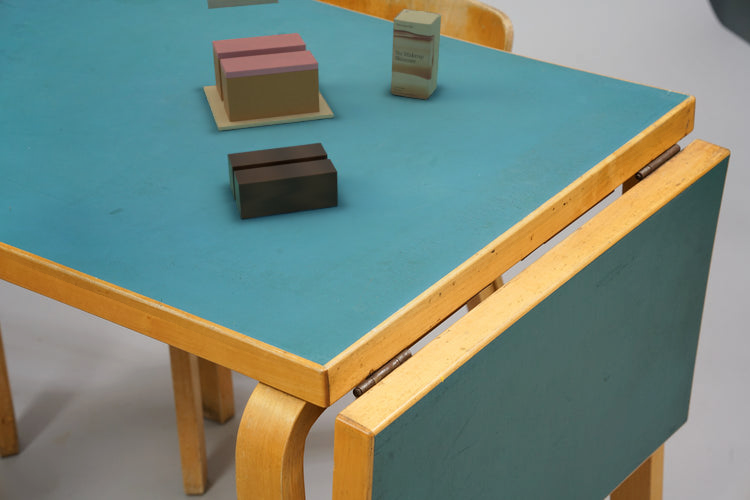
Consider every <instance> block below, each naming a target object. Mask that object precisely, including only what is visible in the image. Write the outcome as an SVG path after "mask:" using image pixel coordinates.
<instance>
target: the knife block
mask: <svg viewBox="0 0 750 500" xmlns="http://www.w3.org/2000/svg"><path fill="white" fill-rule="evenodd" d="M325 149H326V148H325V147H324V146H323V144H322V143H321V142H315V143H308V144H299V145H291V146H290V145H289V146H283V147H275V148H267V149H259V150H249V151H242V152H234V153H227V165H228V166H227V167H228V177H229V188H230V191H231V193H232V197H233V200H234V201H235V202H236V203H235V205H236V208H237V211H238V214H239V216H240V217H239V218H240V220H246V219H253V218H259V217H260V218H261V217H268V216H275V215H282V214H288V213H295V212H303V211H311V210H318V209H325V208H333V207H338V206H339V197H338V196H339V195H338V194H339V193H338V187H339V186H338V170H337V169H336V167H335V165H334V163H333V161H332V160H331V158H329V155H328V152H327V151H326V150H325Z"/></svg>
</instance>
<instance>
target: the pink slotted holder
mask: <svg viewBox="0 0 750 500" xmlns="http://www.w3.org/2000/svg"><path fill="white" fill-rule="evenodd" d="M211 45H212V46H211V47H212V56H213V67H214V78H215V79H214V81H215V85H204V86H203V92H204V94H205V98H206V99H207V102H208V105H209V108H210V110H211V114H212V116H213V118H214V121H215V124H216V126H217V129H218V131H219V132H221V131H228V130H237V129H239V130H240V129H244V128H245V129H247V128H256V127H263V126H264V127H265V126H273V125H281V124H290V123H299V122H306V121H315V120H322V119H323V120H324V119H332V118H334V117H335V115H334V113H333V111H332V109H331V107H330V106H329V104H328V103H327V101H326V99H325V98H324V96H323V95H322V93H321V92H320V80H319V79H320V77H319V62H318V61H317V59H316V57H315V56H314V55H313V53H312V52H311V50H307V44H306V42H305V41H304V40H303V38H302V36H301V35H300V34H299V32H292V33H283V34H282V33H281V34H272V35H259V36H251V37H249V36H248V37H239V38H230V39H229V38H228V39H219V40H212V41H211Z"/></svg>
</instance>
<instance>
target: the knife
mask: <svg viewBox="0 0 750 500" xmlns="http://www.w3.org/2000/svg"><path fill="white" fill-rule="evenodd" d="M206 2H207V3H206V4H207V9H208V10H211V9H212V10H213V9H222V8H223V9H224V8H235V7H246V6H258V5H271V4H279V0H206Z"/></svg>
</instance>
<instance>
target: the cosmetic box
mask: <svg viewBox="0 0 750 500" xmlns="http://www.w3.org/2000/svg"><path fill="white" fill-rule="evenodd" d="M441 23H442V14H441V13H437V12H431V11H426V10H416V9H410V8H409V9H408V8H403V9H402V10H401V11H400V12H399V13H397V14H396V16H395V17H394V18H393V28H392V30H393V31H392V32H393V33H392V52H391V53H392V54H391V56H392V57H391V78H390V79H391V81H390V94H391V95H394V96H395V95H396V96H401V97H406V98H412V99H420V100H428V99H429V98H430V97H431V95H432V94H433V93H434V92H435V91H436V90H437V86H438V73H439V72H438V71H439V57H440V40H441V27H442V26H441V25H442V24H441Z"/></svg>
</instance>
